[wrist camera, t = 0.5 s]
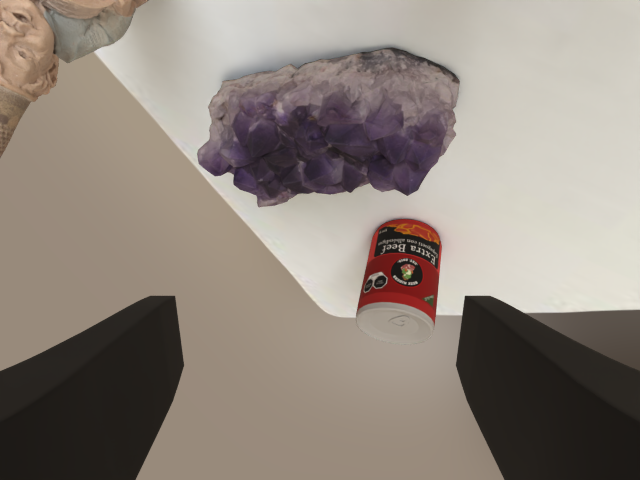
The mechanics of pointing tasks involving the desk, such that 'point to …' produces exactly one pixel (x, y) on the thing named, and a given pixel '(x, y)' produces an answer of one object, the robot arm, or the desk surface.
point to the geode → (332, 126)
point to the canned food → (401, 283)
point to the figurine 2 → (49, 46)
